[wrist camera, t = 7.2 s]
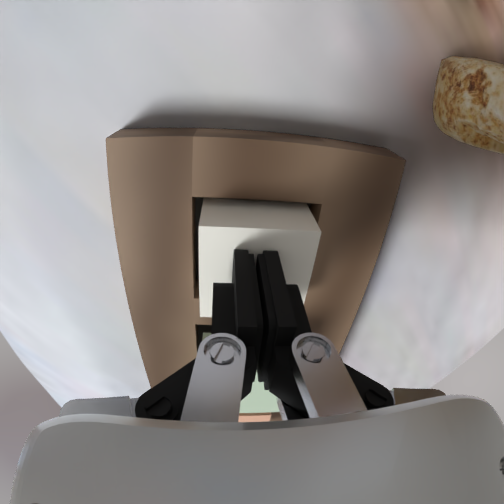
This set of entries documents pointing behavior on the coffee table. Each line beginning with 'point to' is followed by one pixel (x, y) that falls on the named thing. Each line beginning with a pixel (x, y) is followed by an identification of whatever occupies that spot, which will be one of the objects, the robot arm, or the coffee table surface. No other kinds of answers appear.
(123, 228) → the brown tile tray
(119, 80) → the coffee table surface
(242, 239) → the tile cream
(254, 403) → the tile sage
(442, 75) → the bagel
